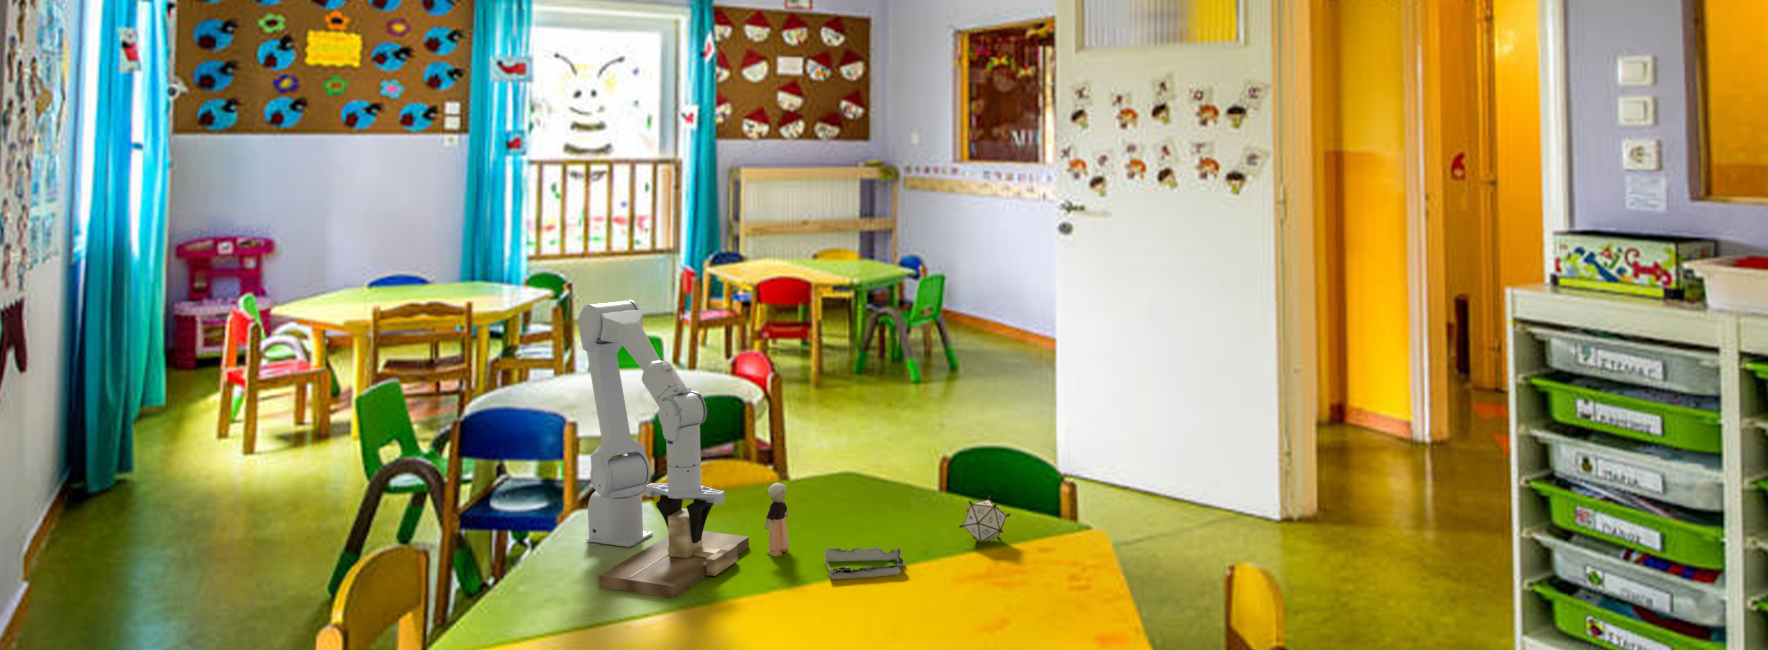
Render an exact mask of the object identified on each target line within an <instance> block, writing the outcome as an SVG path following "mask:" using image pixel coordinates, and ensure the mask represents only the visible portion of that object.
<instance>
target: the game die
mask: <svg viewBox="0 0 1768 650" xmlns="http://www.w3.org/2000/svg"><path fill="white" fill-rule="evenodd" d="M968 504H969V508H968V509H966V512H967V514H966V516H965V519H964V521H963V524H960V525H958V528H960V529H962V528H964V529H965V530H966V531H967V532H968V533H969V534H970V535H971V536H972V537H973V538H975V539H976V540H977V542H979V543H978V546H979V547H981V546H982V543H983V542H987V541H991V540H995V539H997V540H998V541H1001V539H1002V538H1001V537H1000V535H1001V534H1002V533H1004V531H1003V526H1004V524H1005V523H1006V519H1007V517H1009V518H1010V517H1011V514H1010V513H1007V514H1006V513H1005V512H1004V511H1002V510H1001V508H999V507H998V505H997V503H994V502H993V501H991V495H988V496H987V499H986V500H982V501H977V502H974V503H973V501H971V500H968Z"/></svg>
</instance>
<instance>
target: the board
mask: <svg viewBox="0 0 1768 650" xmlns="http://www.w3.org/2000/svg"><path fill="white" fill-rule="evenodd" d="M728 544H733V545H737V551H738V555H740V554H742V553H743V552H744V551H746V550H747V549H749V548H750V536H747V535H739V534H729V533H721V532H714V531H705V530H703V533H702V547H706V548H714V549H722V548H724V547H725V546H727V545H728ZM668 546H669V535H666V536H665V537H663V538H662V539H660V540H658V541H656V542H655V543H653V544H651V545H650V546H648V547H646V548H644V549H642V550H640V551H639V552H637V553H636V554H633V555H632V556H630V557H628V558H627V559H625V560H623V561H621V562H620V563H618V564H616V565H614V566H612V567H611V568H609V569H607V570H605V571H604V572H601V573H600V574H599V575H598V586H599V588H604V589H612V590H618V591H625V592H629V593H639V594H644V595H650V596H657V597H664V598H669V599H674V598H676V597H677V596H679V595H681V594H682V593H683V592H685V591H686V590H688V589H689V588H690V587H692V586H694V585H695V584H697V583H699V582H700V581H701V580H703V579H705V578H706V577H708V575H707V571H706V559H707V558H706V557H699V556H691V557H689V558H681V557H674V556H669V552H668Z"/></svg>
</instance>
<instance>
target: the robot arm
mask: <svg viewBox="0 0 1768 650" xmlns="http://www.w3.org/2000/svg"><path fill="white" fill-rule="evenodd" d="M577 324H578V329H579V336H580V342H581V347H582V350H583V351H585V352H586V355H587V361H588V365H589V372H590V378H591V385H592V389H593V395H594V402H595V407H596V414H597V415H596V416H597V419H598V426H599V430H600V431H599V432H600V437H601V443H600V444H599V446H598V447H597V448H596V449H595V450H594V451H593V452H592V454H591V455H590V457H589V458H590V476H589V477H590V481H591V485H592V487H593V489H594V490H595V491H593V493H592V494H591V495H590V497H589V500H588V504H587V518H588V519H587V520H588V538H586V542H589V543H597V544H605V545H612V546H619V547H626V548H630V547H633V546H634V545H636V544H637V543H638V544H639V542H641V541H644V540H646V539H648V538H649V537H650V536H652V535H653V531H650V530H644V523H643V520H644V519H643V495H642V493H643V491H645V497H647V498H648V497H649V498H651V497H659V500H658V501H656V503H655V505H656V508H657V510H658V511H659V512H660V514H661V516H662V518H663V520H664V522H665V524H666V528H667V529H668V516H670V515H672V514H674V513H675V512H677V511H679V510H681V509H683V508H682V507H683V501H684V500H686V501H692V502H690V503H689V504H688V505H686V509H687V510H688V514H689V518H690V523H691V539H692V543H697V542H699V541H700V540H701V539H702V533H703V531H704V528H705V525H706V521H707V518H708V516H709V514H710V512H711V509H712V508H713V505H716V506H720V505H722V504H724V503H725V502H726V500H725V499H726V498H725V497H726V496H725V490H719V489H715V488H711V487H707V486H704V485H702V463H701V459H702V457H701V455H702V454H701V427H700V426H701V425H702V424H703V423H704V422H705V421H706V419H707V414H708V411H707V409H708V408H707V405H706V402H705V400H704V398H703V395H702V394H701V393H700V392H698V391H696V390H693V389H692V388H690V387H689V388H688V387H687V386H686V385H685V383H684V381H683V380H682V378H681V377H680V376H679V373H677V371H676V370H675V368H674V367H673V365H672V364H671V362H669V361H667V360H661V359H660V357H659V355H658V353H657V351H656V349H655V348H654V346H653V345H652V343H651V341H650V338H649V337H648V335H647V333H646V332H645V329H644V328H643V326H644V314H643V312H642V311H641V309H640V307H639V305H638V304H637V302H636V301H635V300H632V299H626V300H621V301H613V302H604V303H602V302H601V303H594V304H592V303H587V304H585V305H584V306H583V307H582V309H581V311H580V312H579V315H578V317H577ZM622 347H623V348H624V349H625V350H626V351H627V353H628V354H629V355H630V356H631V358H632V359H633V360H634V362H635V363H636V364H637V365H638V367H639V368H640V369H641V370H642V372H643V373H642V374H641V382H642V383H643V385H644V386H645V388H646V390H647V391H648V392H649V394H650V396H651V397H652V398H653V400H654V401H655V403H656V404H657V406H658V411H657V415H658V421H659V423H660V425H661V428H662V435H663V439H664V440H666V441H665V442H666V472H667V475H666V476H667V483H661V482H660V483H659V482H656V483H655V482H651V483H650V480H651V476H652V467H651V464H650V461H649V459H648V456H647V455H646V451H645V447H644V445H643V444H642V443H640V442H638V441H637V440H635V439H634V438H632V436H631V429H630V425H629V419H628V412H627V408H626V403H625V396H624V389H623V384H622V379H621V377H622V376H621V373H620V366H619V360H618V353H619V352H620V349H621V348H622ZM625 454H626V455H625ZM618 455H623V456H619V457H616V456H618ZM614 456H615V457H614ZM612 457H613V458H612ZM648 483H649V484H648Z"/></svg>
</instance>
